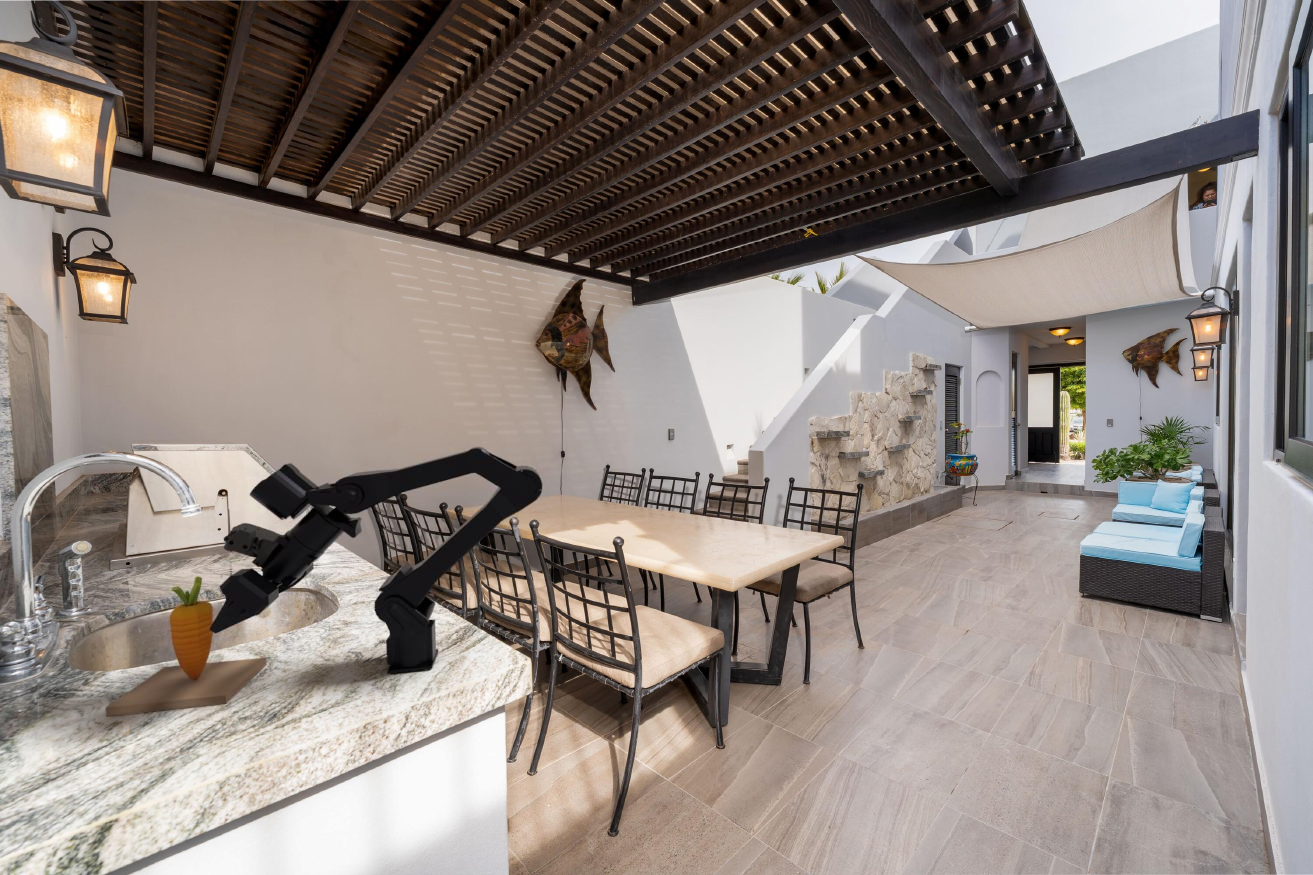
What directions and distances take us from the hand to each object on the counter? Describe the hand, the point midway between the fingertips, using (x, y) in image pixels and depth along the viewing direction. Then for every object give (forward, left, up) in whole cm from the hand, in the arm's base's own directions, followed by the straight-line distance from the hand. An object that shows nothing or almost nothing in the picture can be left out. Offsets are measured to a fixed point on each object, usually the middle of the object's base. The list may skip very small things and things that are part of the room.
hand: (228, 619), depth 82 cm
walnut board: (+5, 0, -10) cm, 11 cm away
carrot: (+5, 0, -9) cm, 10 cm away
